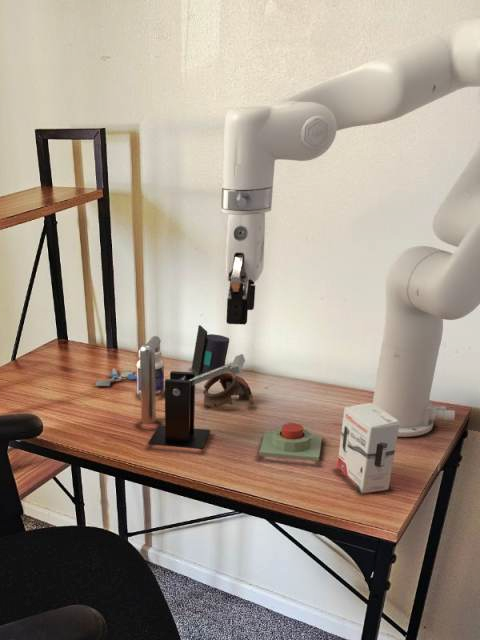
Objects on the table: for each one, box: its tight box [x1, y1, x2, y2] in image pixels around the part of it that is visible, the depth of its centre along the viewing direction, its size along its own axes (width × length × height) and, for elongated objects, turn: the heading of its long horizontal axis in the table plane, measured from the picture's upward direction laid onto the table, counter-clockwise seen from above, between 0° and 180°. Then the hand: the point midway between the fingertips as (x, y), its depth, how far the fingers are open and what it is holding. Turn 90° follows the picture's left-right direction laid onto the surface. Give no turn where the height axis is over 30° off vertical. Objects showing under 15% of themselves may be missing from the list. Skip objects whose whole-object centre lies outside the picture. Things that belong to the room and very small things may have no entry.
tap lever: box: [175, 353, 246, 386], centre depth 123 cm, size 13×6×2 cm, turn 73°
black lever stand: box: [148, 370, 212, 450], centre depth 128 cm, size 10×8×13 cm
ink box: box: [337, 402, 399, 494], centre depth 113 cm, size 8×5×12 cm, turn 11°
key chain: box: [94, 368, 137, 387], centre depth 162 cm, size 14×8×1 cm, turn 118°
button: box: [281, 422, 304, 440], centre depth 124 cm, size 4×4×2 cm
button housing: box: [258, 426, 323, 462], centre depth 125 cm, size 10×9×4 cm
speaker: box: [191, 324, 230, 376], centre depth 159 cm, size 8×6×10 cm
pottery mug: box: [202, 371, 254, 407], centre depth 144 cm, size 12×10×8 cm
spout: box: [139, 335, 162, 425], centre depth 136 cm, size 4×9×16 cm, turn 162°
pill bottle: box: [136, 349, 165, 397], centre depth 149 cm, size 6×6×10 cm
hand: (240, 315), depth 116 cm, fingers open, 7 cm apart
